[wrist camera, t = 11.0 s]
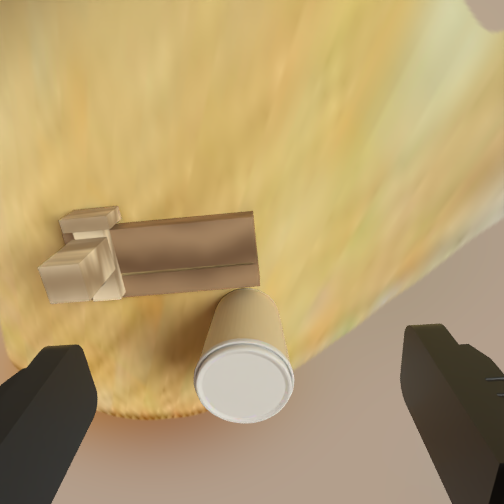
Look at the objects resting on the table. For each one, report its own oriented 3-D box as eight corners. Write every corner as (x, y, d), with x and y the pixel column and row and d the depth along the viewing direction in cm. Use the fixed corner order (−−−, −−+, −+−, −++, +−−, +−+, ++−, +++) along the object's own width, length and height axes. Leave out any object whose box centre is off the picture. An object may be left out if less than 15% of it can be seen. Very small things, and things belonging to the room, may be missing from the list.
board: (71, 228, 41) (62, 234, 39) (252, 211, 40) (252, 216, 38) (90, 291, 44) (83, 300, 42) (259, 277, 43) (259, 286, 41)
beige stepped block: (74, 210, 40) (21, 244, 31) (118, 205, 40) (78, 239, 31) (97, 287, 43) (56, 338, 35) (137, 284, 43) (107, 334, 34)
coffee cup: (196, 329, 46) (176, 405, 35) (228, 268, 43) (218, 330, 32) (263, 357, 48) (265, 438, 37) (300, 301, 44) (314, 371, 33)
